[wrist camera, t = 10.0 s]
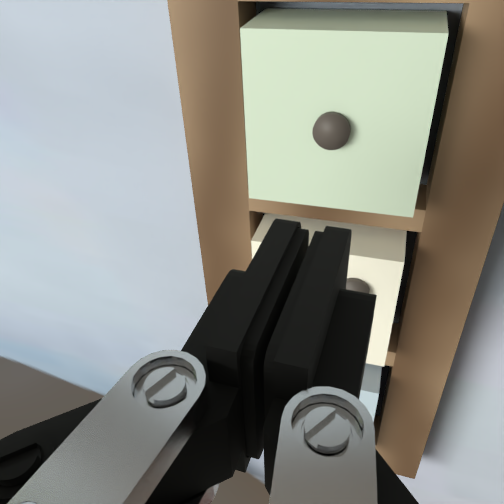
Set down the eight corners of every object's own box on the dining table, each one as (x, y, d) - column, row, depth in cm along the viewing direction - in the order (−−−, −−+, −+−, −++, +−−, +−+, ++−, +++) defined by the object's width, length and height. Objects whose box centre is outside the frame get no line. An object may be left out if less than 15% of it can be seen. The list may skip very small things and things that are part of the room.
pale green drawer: (446, 10, 15) (449, 35, 13) (415, 177, 19) (412, 222, 16) (266, 8, 17) (237, 30, 14) (269, 163, 20) (246, 202, 18)
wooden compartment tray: (584, -112, 13) (605, -111, 12) (415, 448, 30) (414, 478, 28) (181, -94, 16) (155, -91, 15) (234, 405, 33) (225, 430, 31)
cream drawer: (407, 219, 20) (403, 267, 18) (388, 320, 24) (383, 372, 21) (270, 203, 22) (249, 244, 19) (272, 300, 25) (254, 345, 23)
